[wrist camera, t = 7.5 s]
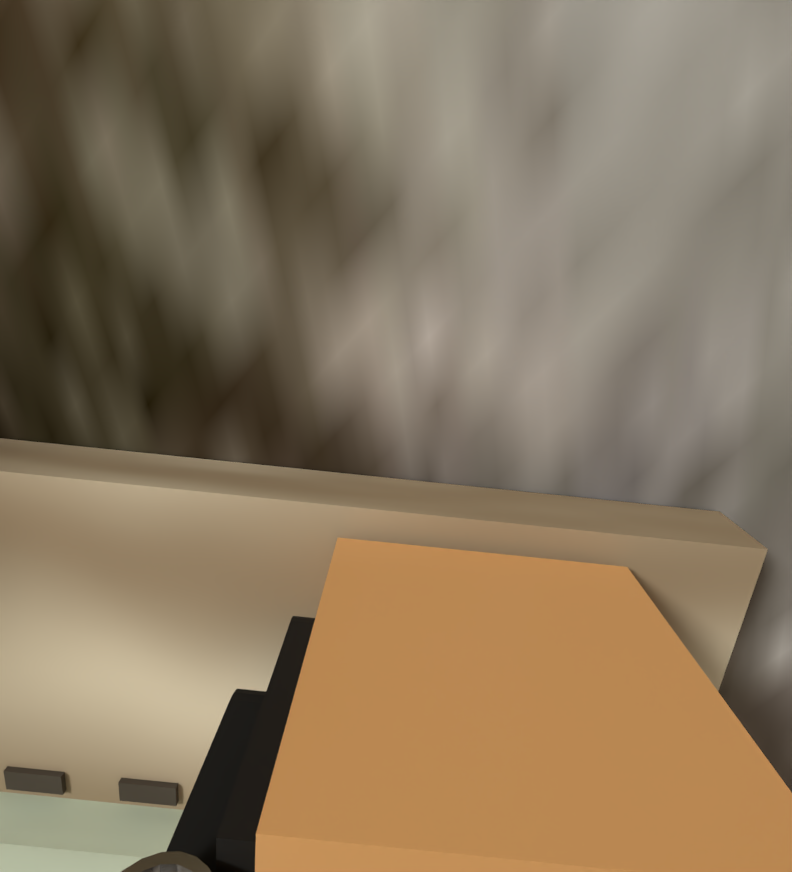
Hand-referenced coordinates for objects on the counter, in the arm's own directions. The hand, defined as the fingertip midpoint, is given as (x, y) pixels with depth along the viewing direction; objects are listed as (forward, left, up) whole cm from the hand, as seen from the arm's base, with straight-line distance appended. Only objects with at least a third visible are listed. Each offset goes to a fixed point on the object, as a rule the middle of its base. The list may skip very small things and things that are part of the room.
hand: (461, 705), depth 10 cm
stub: (0, 0, 0) cm, 0 cm away
